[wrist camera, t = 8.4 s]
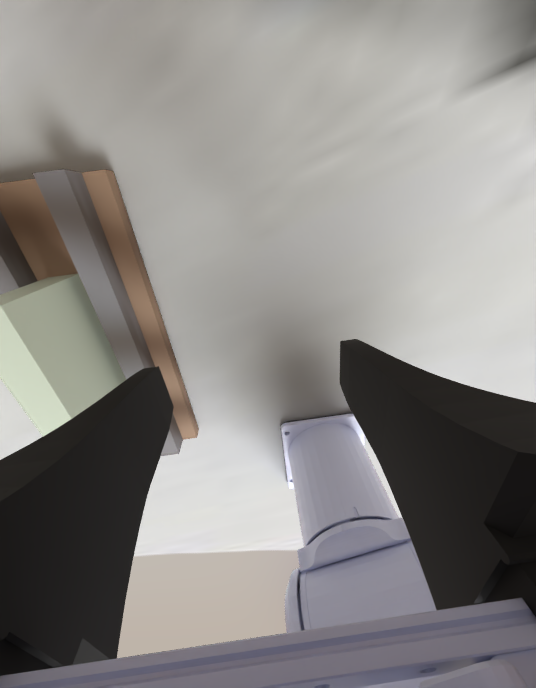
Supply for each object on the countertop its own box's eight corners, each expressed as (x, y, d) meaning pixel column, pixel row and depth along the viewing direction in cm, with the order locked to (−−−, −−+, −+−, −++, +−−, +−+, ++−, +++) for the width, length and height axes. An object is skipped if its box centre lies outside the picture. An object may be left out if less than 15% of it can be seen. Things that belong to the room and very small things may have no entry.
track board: (198, 428, 24) (193, 451, 22) (101, 442, 24) (86, 466, 22) (113, 171, 15) (90, 165, 13) (-48, 192, 15) (-100, 190, 12)
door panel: (137, 399, 21) (100, 464, 16) (112, 402, 21) (66, 469, 16) (80, 273, 16) (0, 305, 11) (48, 277, 16) (-48, 312, 11)
